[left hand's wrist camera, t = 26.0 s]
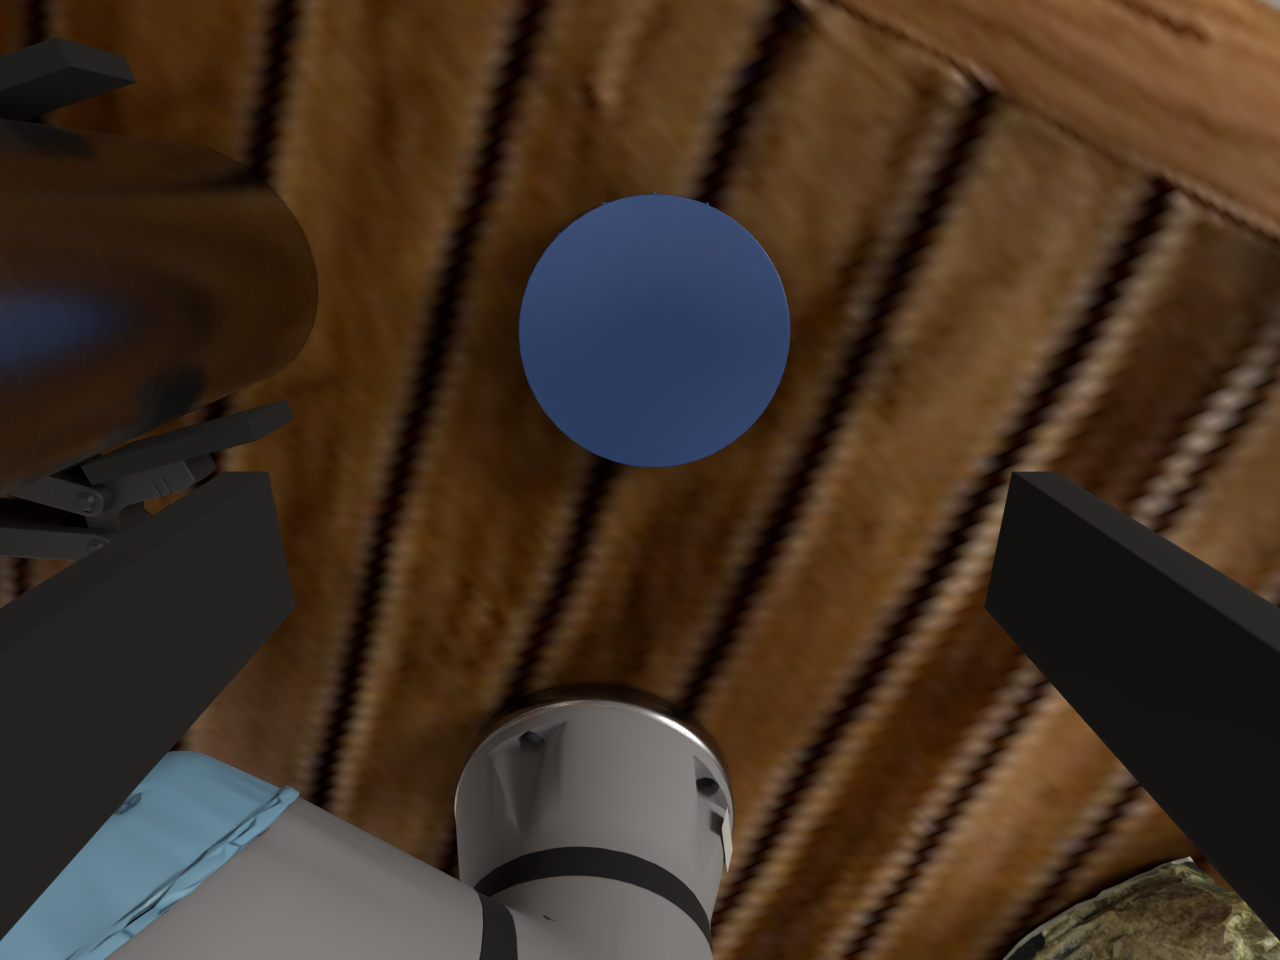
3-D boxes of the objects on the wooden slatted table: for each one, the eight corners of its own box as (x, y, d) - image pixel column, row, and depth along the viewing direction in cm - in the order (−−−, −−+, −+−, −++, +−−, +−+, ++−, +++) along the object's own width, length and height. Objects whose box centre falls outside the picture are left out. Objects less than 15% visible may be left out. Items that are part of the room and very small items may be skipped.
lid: (470, 323, 30) (459, 330, 28) (664, 128, 27) (665, 123, 25) (643, 500, 33) (643, 516, 31) (835, 341, 30) (846, 349, 28)
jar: (335, 192, 28) (-219, 166, 10) (300, 414, 31) (-158, 688, 14) (83, 105, 27) (-1032, -95, 9) (76, 345, 30) (-740, 543, 13)
